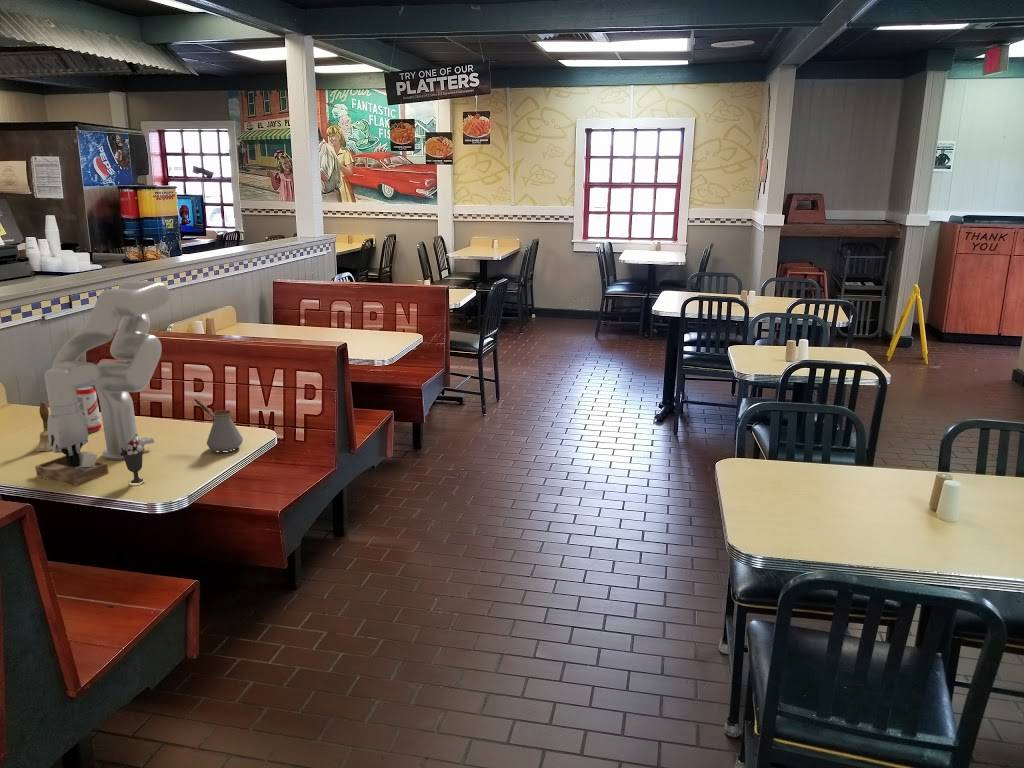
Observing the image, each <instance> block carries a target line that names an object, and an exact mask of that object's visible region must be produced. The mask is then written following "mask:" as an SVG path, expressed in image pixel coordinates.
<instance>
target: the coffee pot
mask: <svg viewBox="0 0 1024 768" xmlns="http://www.w3.org/2000/svg"><path fill="white" fill-rule="evenodd" d="M194 401H195V403H194ZM191 404H192V405H196V404H197V405H199V407H200V408H201V409H202V410H203V411H204V412H206V413H207V414H208V415H210V417H212V419H213V422H212V425H211V428H210V431H209V434H208V438H207V441H206V445H207V447H208V449H210V450H211V451H213V452H214V451H219V452H223V451H230V450H233V449H236V448H237V449H238V448H239V447H240V446H241V445H242V443H243V440H244V439H243V436H242V435H241V433H240V431H239V430H238V428H237V426H236V425H235V423H234V422H233V419H232V417H231V415H232V414H233V411H232V410H231V409H222V410H221V409H220V410H216V411H213V412H211V411H210V410H209V408H207V406H206V405H205V404H203V403H201V401H199V399H198V398H194V399H193V400H192V401H191ZM237 449H236V450H237Z"/></svg>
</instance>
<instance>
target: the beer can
mask: <svg viewBox="0 0 1024 768" xmlns="http://www.w3.org/2000/svg"><path fill="white" fill-rule="evenodd" d="M76 392H77V398H78V401H81V402H82V404H81V405H79V409H80V410H81V411H82V413H83V415H84V418H85V421H86V425H87V430H88V433H95V432H98V431H100V430H101V428H102V422H101V421H102V420H101V416H100V415H101V414H100V409H99V403H98V398H97V397H98V395H97V391H96V389H95V387H94V385H93V386H90V387H85V388H79V389H77V390H76ZM99 429H100V430H99ZM97 430H98V431H97ZM94 431H95V432H94Z"/></svg>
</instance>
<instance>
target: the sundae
mask: <svg viewBox="0 0 1024 768" xmlns="http://www.w3.org/2000/svg"><path fill="white" fill-rule="evenodd" d="M137 435H138V433H137V434H135V436H137ZM134 438H135V437H134ZM134 438H133V439H134ZM121 450H122V451H121V452H120V455H121V456H123V457H124V459H123V460H124V462H125V466H126V468H127V470H128V471H130V472H131V473H133V479H132V480H130V481H131V483H140V482H142V481H143V479H144V478H140V476H139V472H140V471H141V469H142V468H143V457H144V456H143V454H144V453H145V451H146V450H144V449H143V448H142V447H141V446H140V445H139V442H138V441H137V440H136V441H135V442H134V441H133V440H130V442H129V443H127V444H126V446H125V449H124V450H123V449H122V448H121Z"/></svg>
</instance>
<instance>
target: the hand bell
mask: <svg viewBox="0 0 1024 768" xmlns="http://www.w3.org/2000/svg"><path fill="white" fill-rule="evenodd" d="M39 404H40V405H39V409H38V410H39V415H40V418H41V420H42V425H43V431H41V432H40V433H39V441H38V444H37V446H36V447H35V451H36V450H37V452H40V451H44V452H53V447H52V446H50V445H49V439H48V416H49V414H50V413H49V412H50V410H49V408H48V407H49V406H47V403H46V402H45V401H42V402H40V403H39Z"/></svg>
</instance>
